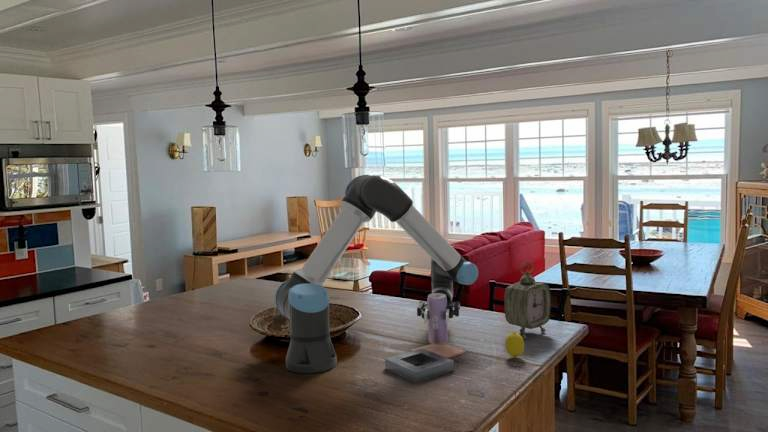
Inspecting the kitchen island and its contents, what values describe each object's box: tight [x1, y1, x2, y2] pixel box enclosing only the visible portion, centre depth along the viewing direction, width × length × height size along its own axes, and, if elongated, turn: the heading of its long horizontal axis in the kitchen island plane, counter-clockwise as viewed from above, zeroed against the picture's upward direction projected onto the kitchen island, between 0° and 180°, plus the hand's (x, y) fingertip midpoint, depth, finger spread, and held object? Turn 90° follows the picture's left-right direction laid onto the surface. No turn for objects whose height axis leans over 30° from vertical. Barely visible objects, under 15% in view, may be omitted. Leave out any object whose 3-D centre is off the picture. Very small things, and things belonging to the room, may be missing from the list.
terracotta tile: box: [410, 343, 466, 359], centre depth 174 cm, size 12×12×1 cm
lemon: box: [504, 331, 525, 359], centre depth 166 cm, size 6×6×8 cm
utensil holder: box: [271, 306, 290, 331], centre depth 196 cm, size 6×6×12 cm
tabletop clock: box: [504, 261, 552, 340], centre depth 188 cm, size 14×9×25 cm, turn 129°
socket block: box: [384, 348, 455, 384], centre depth 159 cm, size 14×14×3 cm
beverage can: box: [426, 293, 449, 345], centre depth 173 cm, size 6×6×15 cm
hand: (436, 318), depth 168 cm, fingers closed on beverage can, 6 cm apart
